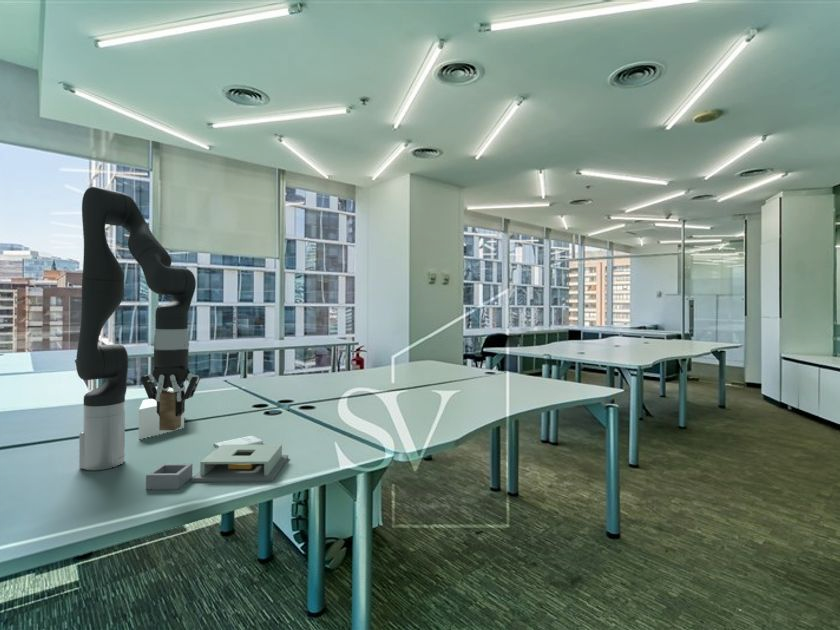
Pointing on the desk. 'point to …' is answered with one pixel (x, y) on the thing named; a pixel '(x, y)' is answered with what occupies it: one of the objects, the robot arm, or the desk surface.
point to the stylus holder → (169, 476)
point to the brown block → (168, 412)
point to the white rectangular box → (151, 420)
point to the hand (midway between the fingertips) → (170, 415)
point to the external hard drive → (240, 441)
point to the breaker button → (240, 466)
